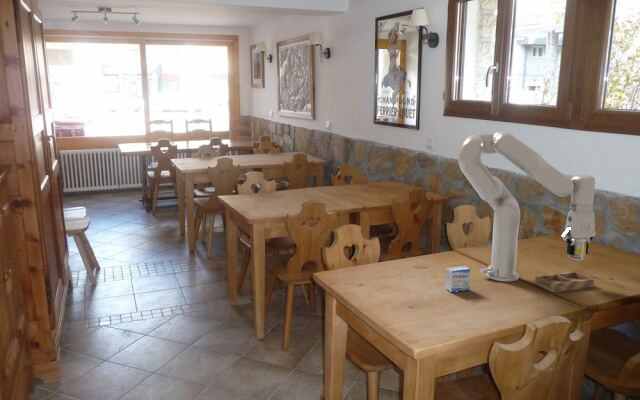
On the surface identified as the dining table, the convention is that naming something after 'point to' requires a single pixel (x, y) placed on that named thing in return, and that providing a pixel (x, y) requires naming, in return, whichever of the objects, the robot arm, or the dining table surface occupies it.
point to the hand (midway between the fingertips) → (577, 253)
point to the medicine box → (457, 278)
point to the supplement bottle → (579, 249)
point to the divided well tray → (564, 281)
